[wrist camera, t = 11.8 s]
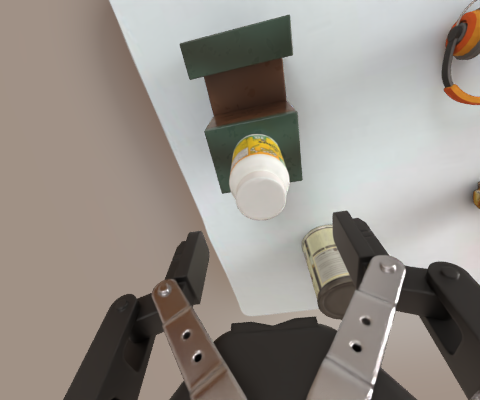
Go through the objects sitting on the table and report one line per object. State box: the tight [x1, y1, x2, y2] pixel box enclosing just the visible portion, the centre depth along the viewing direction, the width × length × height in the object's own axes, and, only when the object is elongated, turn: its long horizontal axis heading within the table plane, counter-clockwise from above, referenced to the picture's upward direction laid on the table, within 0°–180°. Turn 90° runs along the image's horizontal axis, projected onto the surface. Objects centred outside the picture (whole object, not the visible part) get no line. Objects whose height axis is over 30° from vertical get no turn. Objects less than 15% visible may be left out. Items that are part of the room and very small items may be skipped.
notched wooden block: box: [180, 15, 302, 194], centre depth 30 cm, size 16×10×13 cm, turn 12°
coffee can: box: [302, 225, 356, 320], centre depth 43 cm, size 10×10×14 cm
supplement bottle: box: [229, 134, 289, 220], centre depth 22 cm, size 5×5×10 cm
